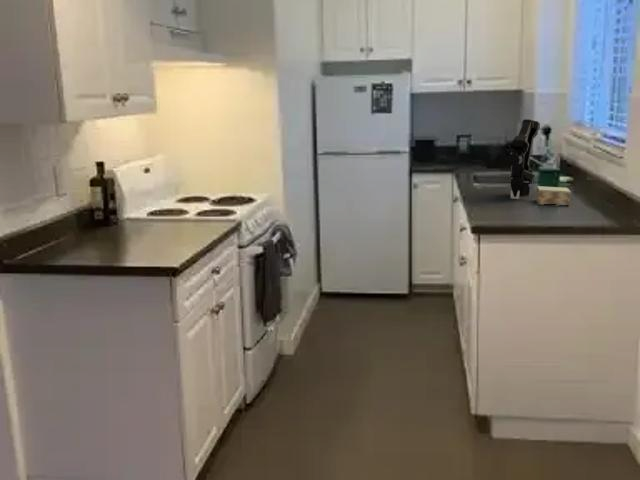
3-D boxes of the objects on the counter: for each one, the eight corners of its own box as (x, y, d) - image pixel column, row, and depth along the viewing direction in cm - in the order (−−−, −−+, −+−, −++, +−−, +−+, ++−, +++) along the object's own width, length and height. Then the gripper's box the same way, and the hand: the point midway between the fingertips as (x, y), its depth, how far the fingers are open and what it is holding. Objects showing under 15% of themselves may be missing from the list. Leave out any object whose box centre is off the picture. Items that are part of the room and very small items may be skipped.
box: (537, 204, 327) (539, 191, 325) (535, 200, 340) (537, 187, 339) (569, 206, 324) (570, 193, 322) (565, 201, 337) (567, 189, 336)
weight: (510, 198, 343) (511, 190, 342) (510, 197, 346) (511, 189, 346) (518, 199, 342) (519, 191, 341) (518, 198, 345) (519, 190, 345)
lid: (539, 191, 325) (539, 189, 325) (537, 187, 339) (537, 186, 338) (570, 193, 322) (570, 191, 322) (567, 189, 336) (567, 187, 335)
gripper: (536, 167, 330) (532, 199, 333) (533, 163, 348) (530, 194, 351) (511, 166, 332) (509, 198, 336) (510, 162, 350) (507, 193, 353)
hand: (514, 196), depth 344 cm, fingers open, 4 cm apart
